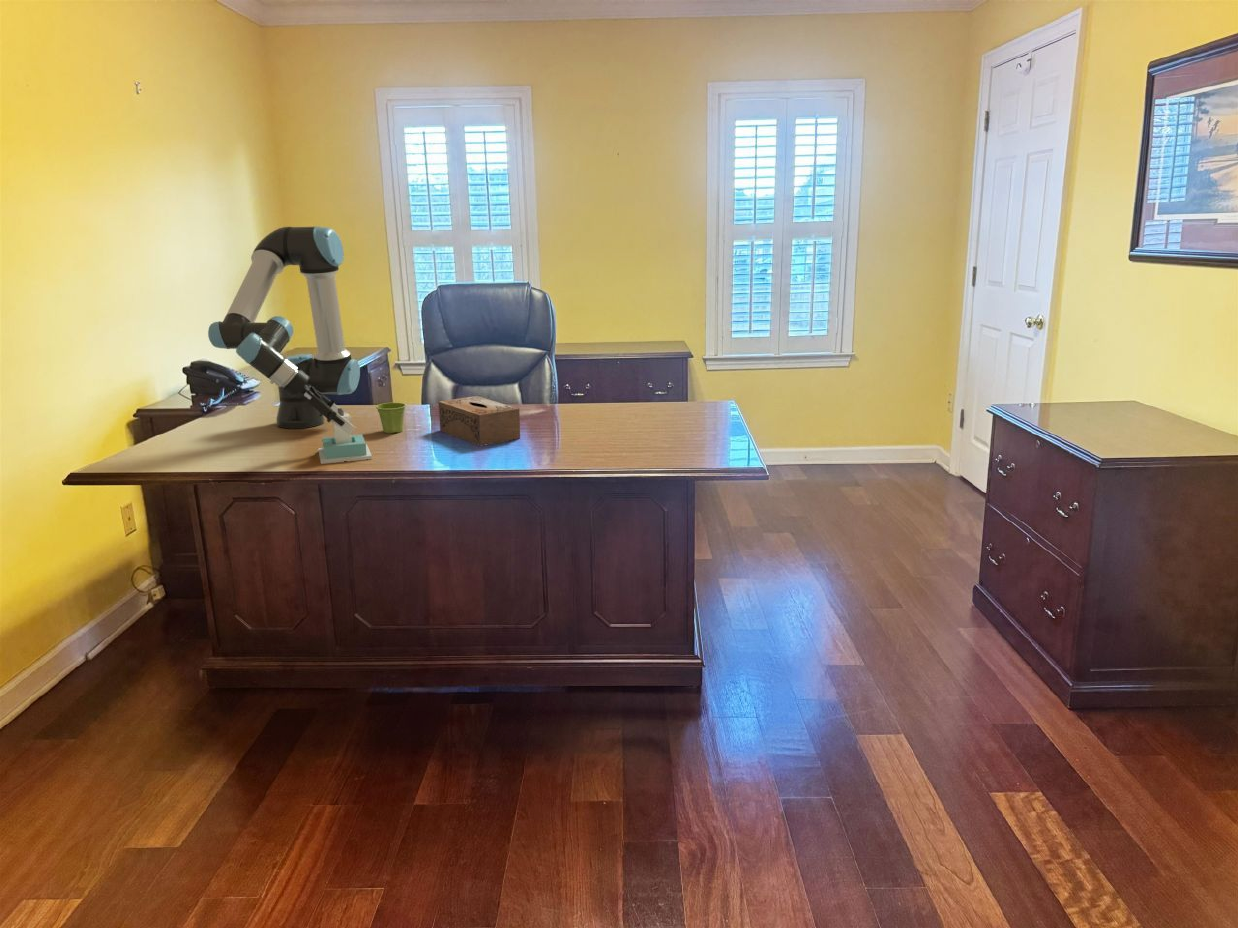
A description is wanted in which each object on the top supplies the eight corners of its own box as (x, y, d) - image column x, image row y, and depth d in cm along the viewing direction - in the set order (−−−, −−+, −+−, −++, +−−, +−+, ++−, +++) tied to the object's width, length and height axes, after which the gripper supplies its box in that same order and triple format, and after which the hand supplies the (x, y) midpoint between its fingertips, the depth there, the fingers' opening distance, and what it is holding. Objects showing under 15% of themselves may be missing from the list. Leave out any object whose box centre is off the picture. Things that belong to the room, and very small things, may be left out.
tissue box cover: (520, 439, 263) (519, 408, 260) (480, 446, 254) (479, 415, 251) (478, 424, 282) (476, 395, 279) (440, 431, 273) (438, 401, 270)
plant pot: (399, 435, 266) (397, 409, 264) (372, 434, 268) (370, 407, 265) (412, 428, 275) (410, 403, 272) (386, 427, 277) (384, 401, 274)
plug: (337, 454, 240) (332, 410, 237) (336, 450, 244) (332, 407, 241) (352, 453, 242) (348, 409, 238) (351, 449, 246) (347, 406, 242)
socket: (320, 463, 234) (319, 448, 233) (318, 451, 247) (317, 437, 246) (372, 459, 240) (370, 444, 238) (367, 447, 252) (365, 432, 251)
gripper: (280, 380, 243) (338, 426, 253) (281, 396, 221) (345, 445, 230) (297, 361, 243) (355, 407, 253) (300, 375, 221) (363, 425, 231)
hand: (350, 426), depth 242 cm, fingers open, 13 cm apart
